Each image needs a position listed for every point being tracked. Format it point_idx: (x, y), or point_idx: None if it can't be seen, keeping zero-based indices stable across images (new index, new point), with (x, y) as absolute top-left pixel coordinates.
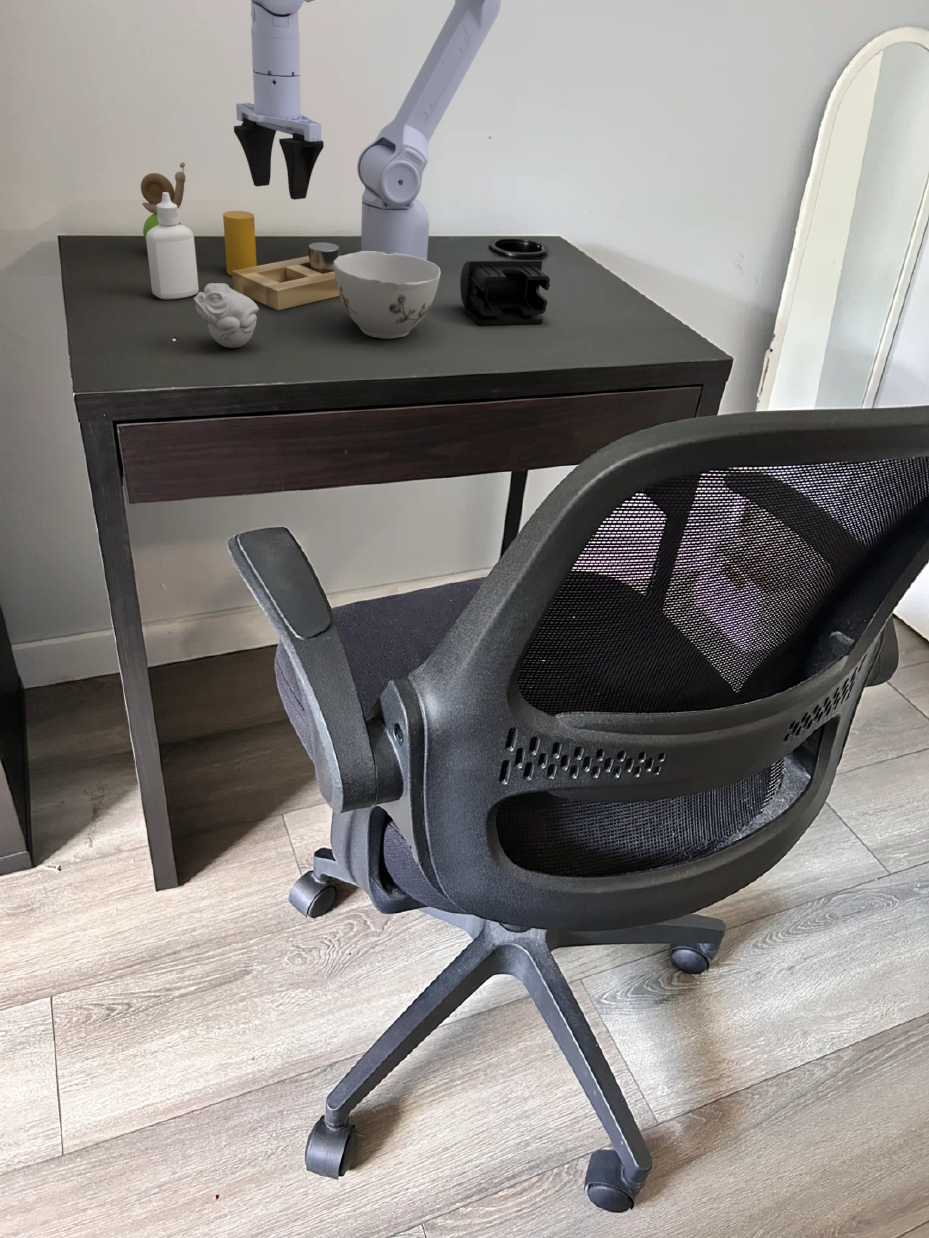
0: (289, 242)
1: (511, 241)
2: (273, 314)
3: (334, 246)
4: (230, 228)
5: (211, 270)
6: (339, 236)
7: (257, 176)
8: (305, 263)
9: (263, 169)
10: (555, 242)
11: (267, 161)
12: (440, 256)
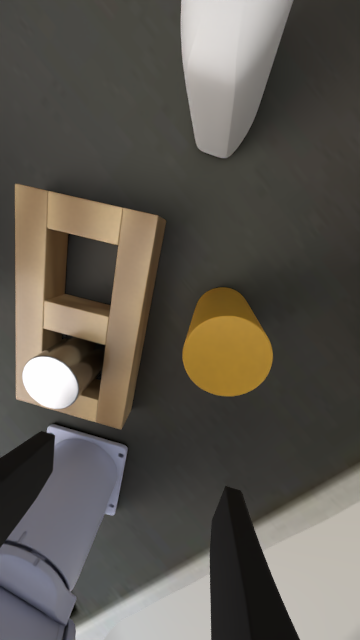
0: (266, 487)
1: None
2: (34, 172)
3: (40, 397)
4: (223, 308)
5: (275, 287)
6: None
7: (226, 525)
8: (104, 359)
9: (221, 574)
10: None
11: (215, 629)
12: None
